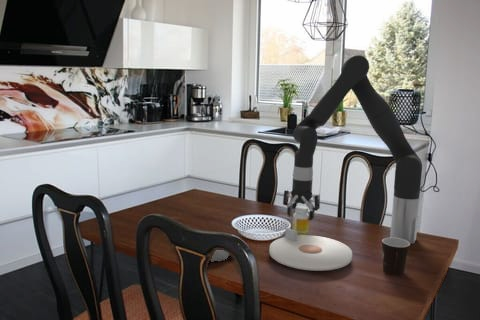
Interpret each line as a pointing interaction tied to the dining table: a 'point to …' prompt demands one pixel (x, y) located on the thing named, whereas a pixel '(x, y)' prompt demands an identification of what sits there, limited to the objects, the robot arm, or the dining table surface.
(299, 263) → the disc
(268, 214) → the dining table surface
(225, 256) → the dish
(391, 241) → the coffee mug
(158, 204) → the dining table surface
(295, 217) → the supplement bottle
